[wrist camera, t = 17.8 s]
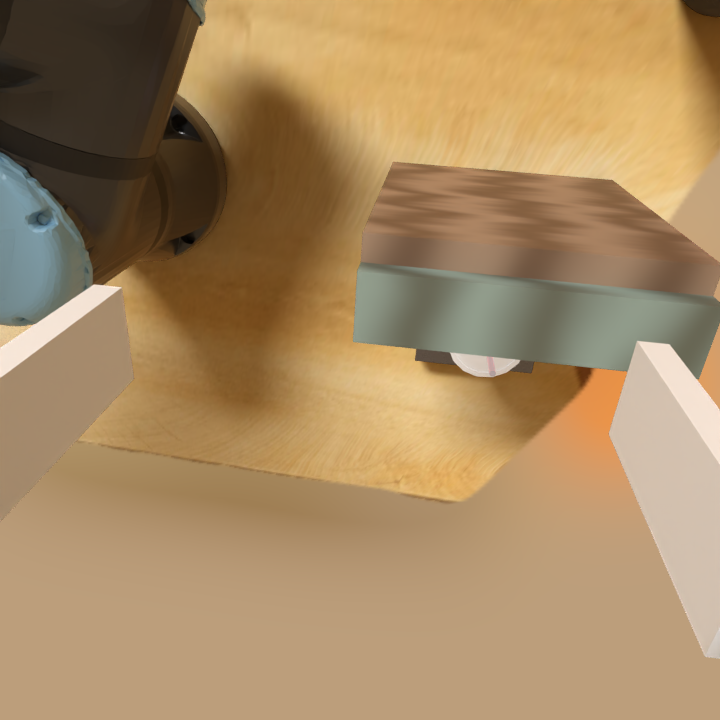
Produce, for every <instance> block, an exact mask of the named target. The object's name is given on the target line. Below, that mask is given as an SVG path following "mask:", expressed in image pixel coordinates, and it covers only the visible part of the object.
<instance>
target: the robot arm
mask: <svg viewBox="0 0 720 720" xmlns="http://www.w3.org/2000/svg"><path fill="white" fill-rule="evenodd" d="M206 1H207V0H0V325H6V326H27V325H33V324H35V325H33V326H32V327H30V328H29V329H27V330H26V331H24V332H23V333H22V334H20V335H19V336H17V337H16V338H14V339H13V340H11V341H10V342H8V343H7V344H5V345H4V346H2V347H1V348H0V522H1V521H2V520H3V519H4V518H5V516H6V515H7V514H8V513H9V512H10V511H11V510H12V509H13V508H14V507H15V506H16V505H17V504H18V502H19V501H20V500H21V499H22V498H23V497H24V496H25V495H26V494H27V493H28V492H29V491H30V490H31V489H32V488H33V486H34V485H35V484H36V483H37V482H38V481H39V480H40V479H41V478H42V477H43V476H44V475H45V474H46V473H47V472H48V470H49V469H50V468H51V467H52V466H53V465H54V464H55V463H56V462H57V461H58V460H59V459H60V458H61V456H62V455H63V454H64V453H65V452H66V451H67V450H68V449H69V448H70V447H71V445H73V444H74V443H75V442H76V440H77V439H78V438H79V437H80V436H81V435H82V434H83V433H84V432H85V431H86V430H87V429H88V428H89V427H90V425H91V424H92V423H93V422H94V421H95V420H96V419H97V418H98V417H99V416H100V415H101V414H102V413H103V412H104V411H105V409H106V408H107V407H108V406H109V405H110V404H111V403H112V402H113V401H114V400H115V399H116V398H117V397H118V396H119V394H120V393H121V392H122V391H123V390H124V389H125V388H126V387H127V386H128V385H129V384H130V383H131V382H132V381H133V379H134V374H133V367H132V359H131V352H130V344H129V336H128V329H127V321H126V314H125V306H124V299H123V291H122V287H114V286H104V284H105V283H107V282H108V281H110V280H111V279H112V278H114V277H115V276H117V275H118V274H119V273H121V272H122V271H124V270H125V269H127V268H128V267H129V266H131V265H132V264H134V263H135V262H136V261H160V260H166V259H169V258H173V257H175V256H178V255H180V254H183V253H184V252H186V251H188V250H189V249H191V248H192V247H194V246H195V245H196V244H198V243H199V242H200V241H201V240H202V239H204V238H205V237H206V236H207V235H208V234H209V233H210V231H211V230H212V229H213V227H214V226H215V224H216V223H217V221H218V219H219V217H220V215H221V212H222V209H223V206H224V202H225V197H226V187H227V179H226V169H225V164H224V159H223V156H222V152H221V149H220V147H219V144H218V142H217V140H216V138H215V136H214V134H213V132H212V130H211V129H210V127H209V126H208V124H207V123H206V121H205V120H204V119H203V117H202V116H201V115H200V114H199V113H198V111H197V110H196V109H195V108H194V107H193V106H192V105H191V104H190V103H188V102H187V101H186V100H185V99H184V98H182V97H181V96H179V95H178V94H177V91H178V88H179V85H180V82H181V79H182V76H183V73H184V70H185V67H186V64H187V60H188V57H189V54H190V51H191V48H192V45H193V42H194V39H195V36H196V33H197V29H198V26H203V25H204V22H205V10H204V8H205V5H206ZM609 436H610V438H611V441H612V443H613V445H614V448H615V450H616V452H617V455H618V457H619V459H620V462H621V464H622V466H623V469H624V470H625V473H626V475H627V478H628V480H629V482H630V485H631V487H632V489H633V492H634V494H635V496H636V498H637V501H638V503H639V505H640V508H641V510H642V512H643V515H644V517H645V519H646V522H647V524H648V526H649V529H650V531H651V533H652V535H653V538H654V540H655V542H656V545H657V547H658V549H659V552H660V554H661V556H662V559H663V561H664V563H665V566H666V568H667V570H668V572H669V575H670V577H671V580H672V582H673V584H674V586H675V589H676V591H677V593H678V596H679V598H680V600H681V603H682V605H683V607H684V610H685V612H686V614H687V617H688V619H689V621H690V623H691V626H692V628H693V630H694V633H695V635H696V637H697V640H698V642H699V644H700V647H701V649H702V651H703V654H704V656H705V657H711V658H718V659H720V410H719V408H718V407H717V405H716V404H715V403H714V402H713V400H712V399H711V398H710V396H709V395H708V394H707V392H706V391H705V390H704V389H703V387H702V386H701V385H700V384H699V382H698V381H697V379H696V378H695V377H694V376H693V374H692V373H691V372H690V370H689V369H688V368H687V366H686V365H685V364H684V363H683V361H682V360H681V359H680V357H679V356H678V355H677V353H676V352H675V351H674V350H673V348H672V347H671V346H670V344H663V343H653V342H643V341H637V343H636V346H635V349H634V353H633V356H632V359H631V362H630V366H629V369H628V372H627V375H626V379H625V382H624V385H623V388H622V392H621V395H620V399H619V402H618V405H617V408H616V412H615V415H614V418H613V421H612V425H611V428H610V431H609Z"/></svg>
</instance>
